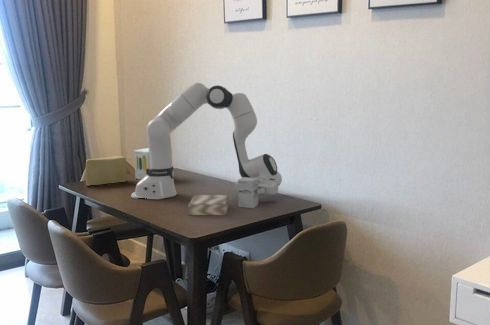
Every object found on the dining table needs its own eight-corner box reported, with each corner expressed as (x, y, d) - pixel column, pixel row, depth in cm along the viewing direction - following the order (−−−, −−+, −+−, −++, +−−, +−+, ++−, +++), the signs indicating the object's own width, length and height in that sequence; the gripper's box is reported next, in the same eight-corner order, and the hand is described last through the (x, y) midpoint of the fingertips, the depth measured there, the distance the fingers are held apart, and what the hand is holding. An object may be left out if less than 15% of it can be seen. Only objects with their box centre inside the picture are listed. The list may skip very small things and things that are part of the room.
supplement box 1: (134, 179, 294) (133, 150, 291) (152, 176, 304) (151, 147, 301) (149, 182, 285) (147, 151, 283) (167, 178, 295) (166, 149, 292)
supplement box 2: (237, 207, 229) (237, 179, 226) (243, 203, 235) (243, 176, 233) (253, 208, 226) (252, 180, 224) (258, 204, 233) (258, 177, 231)
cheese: (89, 188, 274) (87, 161, 271) (83, 185, 282) (81, 158, 279) (128, 182, 287) (126, 156, 284) (121, 180, 295) (119, 154, 292)
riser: (188, 215, 217) (188, 203, 216) (194, 205, 233) (193, 194, 232) (225, 214, 216) (225, 203, 215) (228, 205, 232) (228, 194, 231)
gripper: (242, 176, 246) (227, 182, 234) (280, 180, 236) (267, 186, 224) (242, 189, 247) (228, 195, 235) (281, 193, 237) (267, 200, 225)
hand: (247, 191), depth 229 cm, fingers open, 8 cm apart
